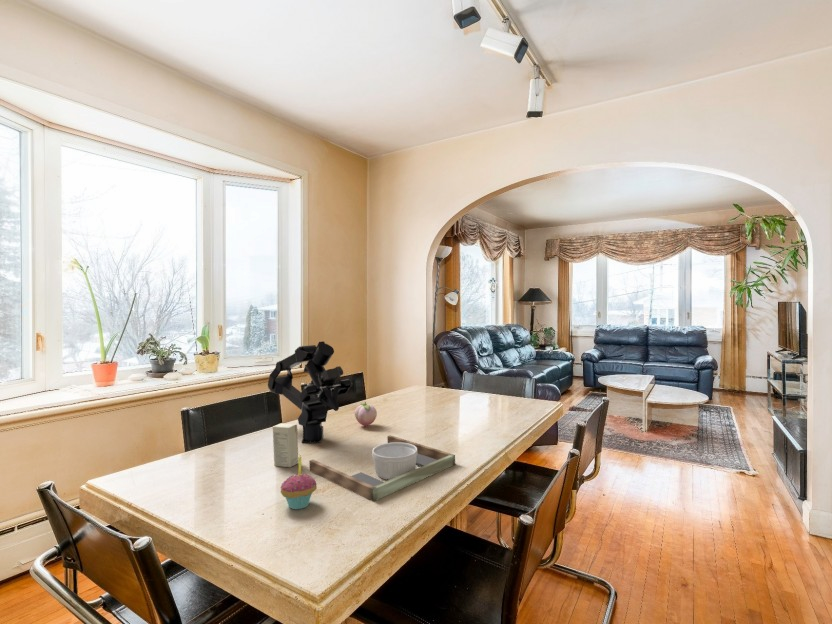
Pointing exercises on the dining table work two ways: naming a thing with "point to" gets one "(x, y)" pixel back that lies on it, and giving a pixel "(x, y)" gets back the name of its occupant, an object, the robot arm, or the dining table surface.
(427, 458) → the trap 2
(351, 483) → the wooden u-shaped frame
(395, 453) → the ramekin
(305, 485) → the cupcake
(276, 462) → the skincare box
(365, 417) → the decorative fruit
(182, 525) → the dining table surface
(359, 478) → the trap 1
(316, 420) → the robot arm
